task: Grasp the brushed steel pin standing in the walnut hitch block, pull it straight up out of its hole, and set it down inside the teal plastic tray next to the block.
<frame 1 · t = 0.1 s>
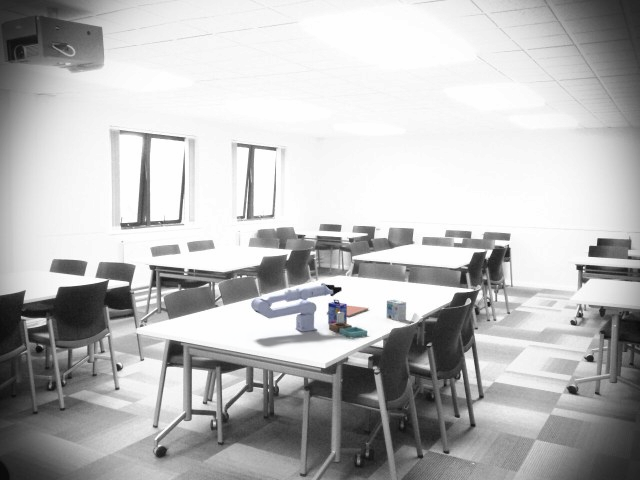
hand: (337, 287, 317), 22 cm above the table, tool horizontal, fingers open, 7 cm apart
steel pin: (340, 321, 308), in the hitch block
light bulb box: (396, 319, 339), on the table
tray: (353, 334, 299), on the table
hitch block: (340, 330, 308), on the table
ink cartridge box: (337, 324, 323), on the table
notebook: (347, 313, 358), on the table
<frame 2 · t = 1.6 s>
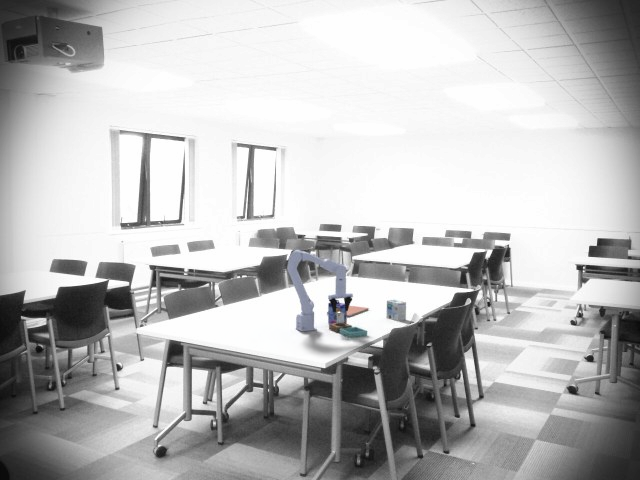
hand: (340, 311, 308), 10 cm above the table, tool pointing down, fingers open, 7 cm apart
nothing on the table moved.
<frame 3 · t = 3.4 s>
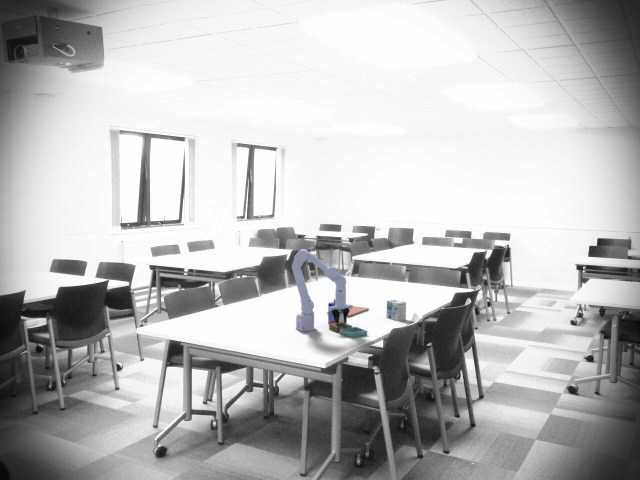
hand: (340, 322, 308), 4 cm above the table, tool pointing down, fingers closed on steel pin, 4 cm apart
steel pin: (340, 321, 308), in the hitch block, touching gripper
everything else where it was.
when the fingers open (6 cm above the table, at t = 7.6 s): steel pin drops 1 cm, resting on tray.
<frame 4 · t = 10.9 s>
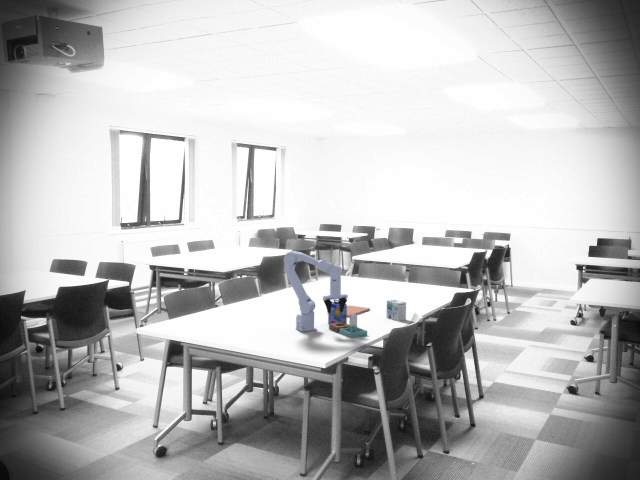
hand: (335, 312, 305), 10 cm above the table, tool pointing down, fingers open, 7 cm apart
steel pin: (353, 324, 299), in the tray, point 6 cm above the table
everything else where it was.
at the end: steel pin inside the target area on the tray (0.2 cm from its centre), point 5.6 cm above the tray's base; the gripper is holding nothing; steel pin moved 11.4 cm from its start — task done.
